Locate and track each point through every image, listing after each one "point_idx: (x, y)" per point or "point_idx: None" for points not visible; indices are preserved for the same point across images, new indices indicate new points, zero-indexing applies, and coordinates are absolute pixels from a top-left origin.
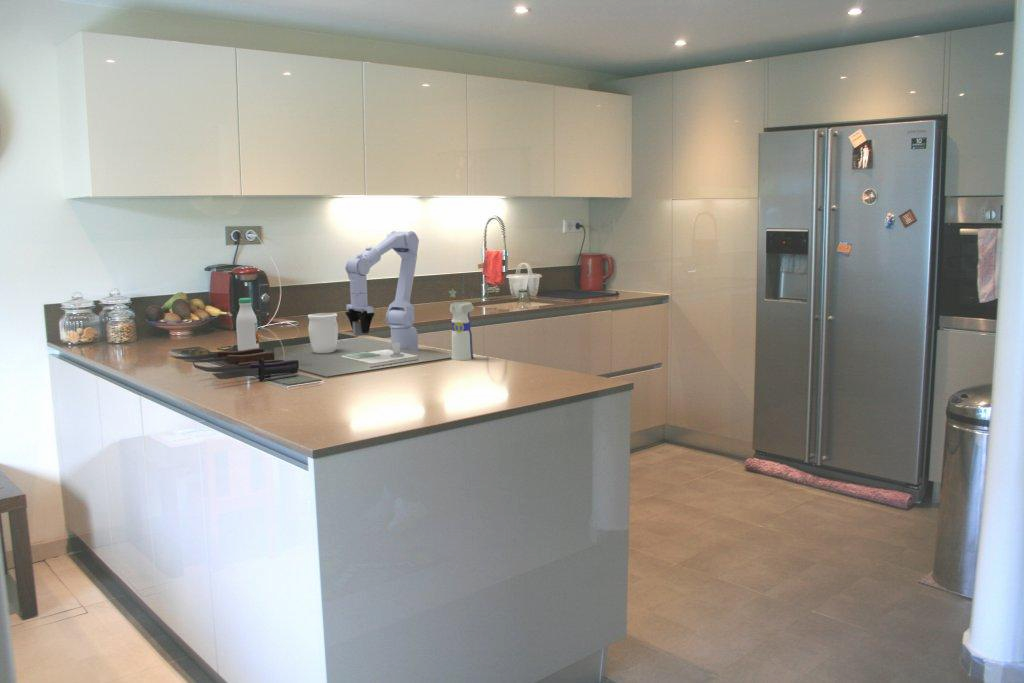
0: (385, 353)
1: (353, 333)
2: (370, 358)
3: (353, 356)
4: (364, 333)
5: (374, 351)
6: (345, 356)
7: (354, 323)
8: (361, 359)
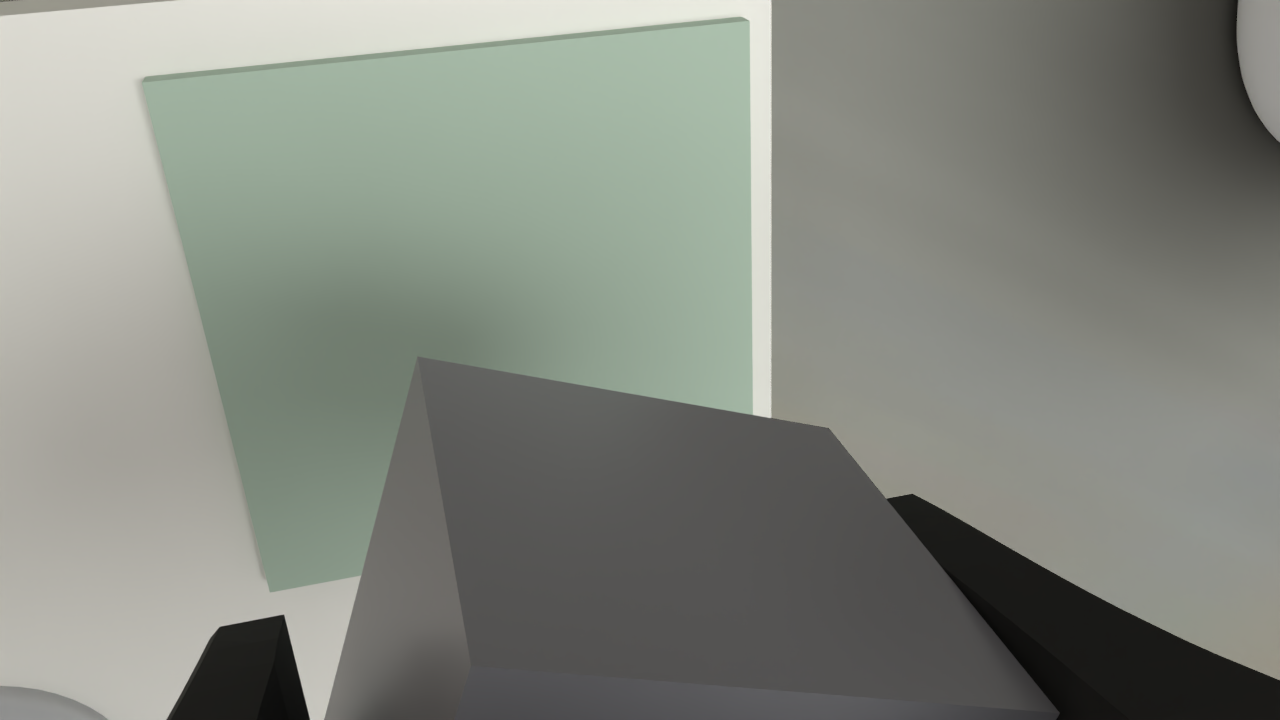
0: None
1: (733, 427)
2: (42, 332)
3: (403, 96)
4: (352, 662)
5: None
6: (660, 14)
7: (517, 647)
8: (26, 125)
